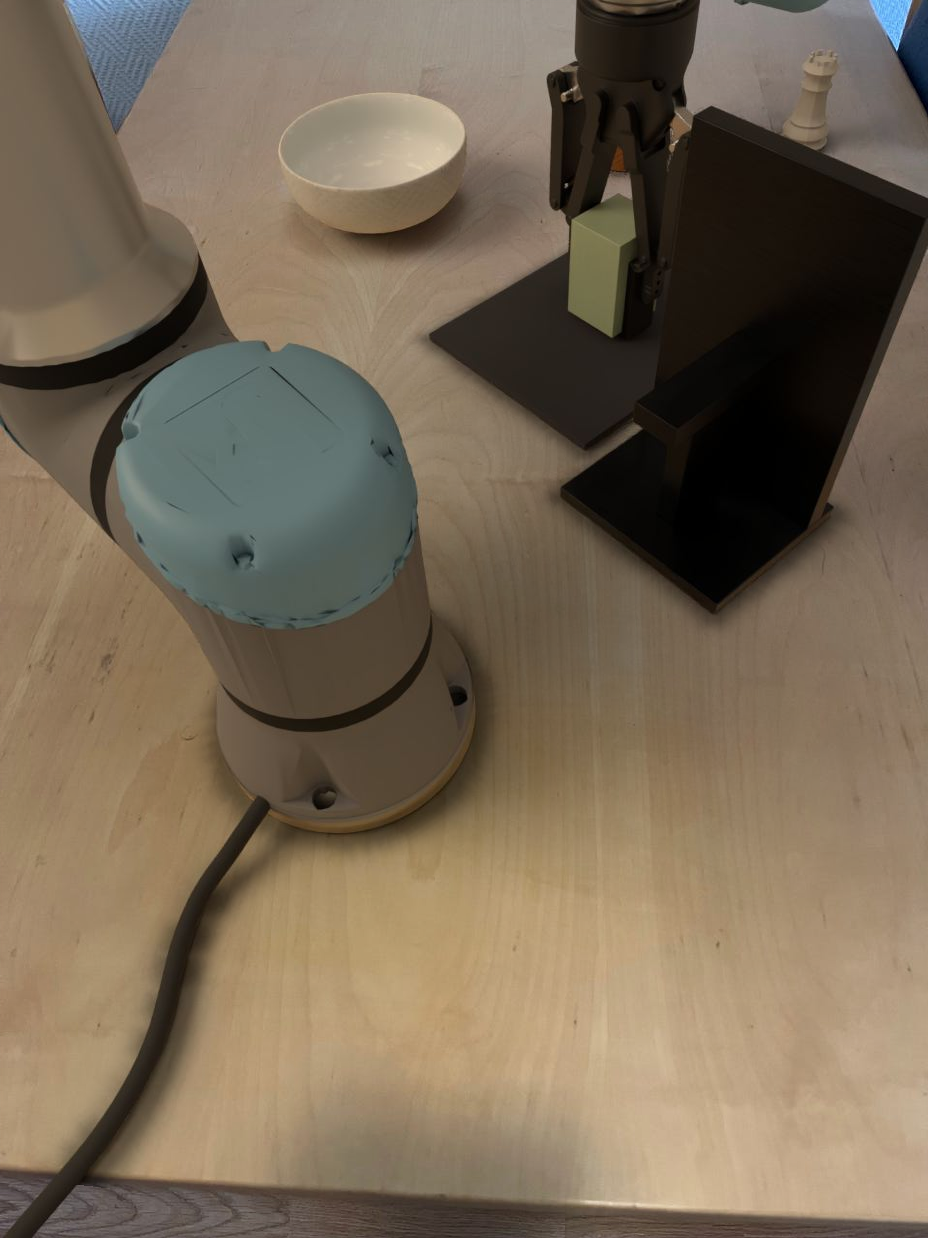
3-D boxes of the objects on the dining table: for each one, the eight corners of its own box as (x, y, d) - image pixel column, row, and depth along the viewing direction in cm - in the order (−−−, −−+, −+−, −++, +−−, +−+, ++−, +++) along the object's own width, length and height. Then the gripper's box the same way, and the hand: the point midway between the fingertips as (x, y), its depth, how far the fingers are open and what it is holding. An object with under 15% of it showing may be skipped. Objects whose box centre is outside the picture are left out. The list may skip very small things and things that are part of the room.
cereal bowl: (353, 286, 80) (339, 210, 74) (262, 207, 88) (244, 134, 82) (506, 213, 85) (504, 137, 79) (407, 145, 93) (398, 72, 87)
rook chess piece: (827, 156, 87) (851, 67, 80) (779, 155, 88) (799, 66, 81) (824, 132, 90) (847, 44, 83) (777, 131, 90) (796, 43, 84)
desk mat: (584, 450, 66) (584, 444, 66) (429, 339, 75) (428, 333, 74) (791, 305, 74) (793, 299, 74) (630, 220, 83) (631, 213, 82)
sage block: (612, 338, 72) (620, 246, 65) (567, 310, 74) (571, 219, 67) (655, 310, 73) (667, 217, 67) (610, 284, 76) (618, 192, 69)
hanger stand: (713, 614, 57) (803, 304, 39) (559, 496, 64) (571, 182, 45) (830, 516, 61) (963, 191, 43) (674, 414, 68) (729, 94, 49)
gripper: (800, 9, 52) (727, 343, 71) (577, -67, 60) (565, 249, 79) (713, 55, 49) (662, 388, 68) (493, -32, 58) (502, 286, 77)
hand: (610, 313), depth 74 cm, fingers closed on sage block, 5 cm apart
